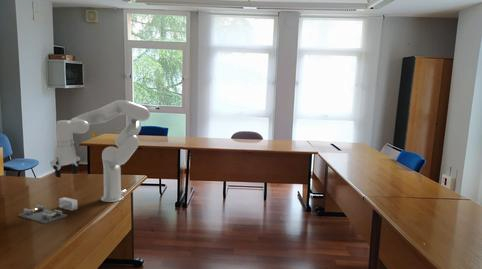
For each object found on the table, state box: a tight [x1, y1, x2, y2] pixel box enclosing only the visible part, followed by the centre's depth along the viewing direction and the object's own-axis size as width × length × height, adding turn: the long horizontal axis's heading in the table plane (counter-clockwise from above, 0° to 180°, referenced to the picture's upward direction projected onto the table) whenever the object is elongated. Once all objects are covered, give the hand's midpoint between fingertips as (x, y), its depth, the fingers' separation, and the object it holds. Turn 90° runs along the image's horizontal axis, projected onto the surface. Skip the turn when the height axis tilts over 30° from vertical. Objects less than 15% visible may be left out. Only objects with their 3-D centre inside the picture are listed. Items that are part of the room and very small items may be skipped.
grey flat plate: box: [17, 208, 68, 224], centre depth 174 cm, size 12×21×1 cm, turn 64°
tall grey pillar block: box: [58, 196, 78, 211], centre depth 187 cm, size 4×10×5 cm, turn 64°
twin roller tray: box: [23, 204, 63, 220], centre depth 174 cm, size 7×20×2 cm, turn 64°
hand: (66, 175), depth 184 cm, fingers open, 9 cm apart
